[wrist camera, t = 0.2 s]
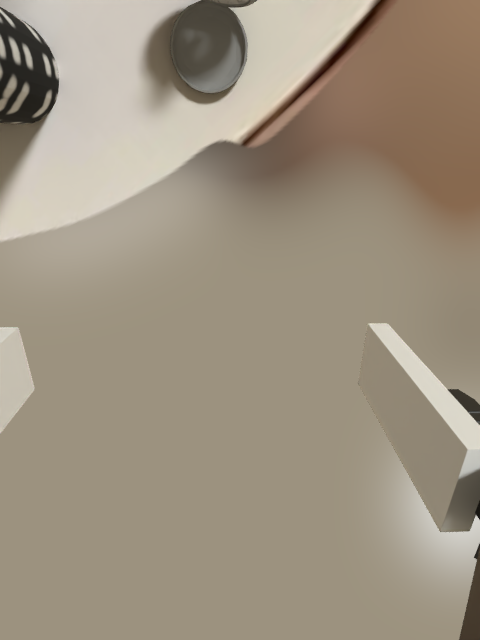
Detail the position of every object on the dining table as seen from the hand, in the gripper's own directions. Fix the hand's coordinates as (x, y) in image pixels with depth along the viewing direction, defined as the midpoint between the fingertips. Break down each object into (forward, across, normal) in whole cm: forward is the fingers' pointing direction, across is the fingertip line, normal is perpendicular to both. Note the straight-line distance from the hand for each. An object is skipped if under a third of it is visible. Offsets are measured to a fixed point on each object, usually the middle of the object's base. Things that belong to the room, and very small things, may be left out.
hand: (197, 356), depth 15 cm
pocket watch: (+28, 0, +16) cm, 32 cm away
